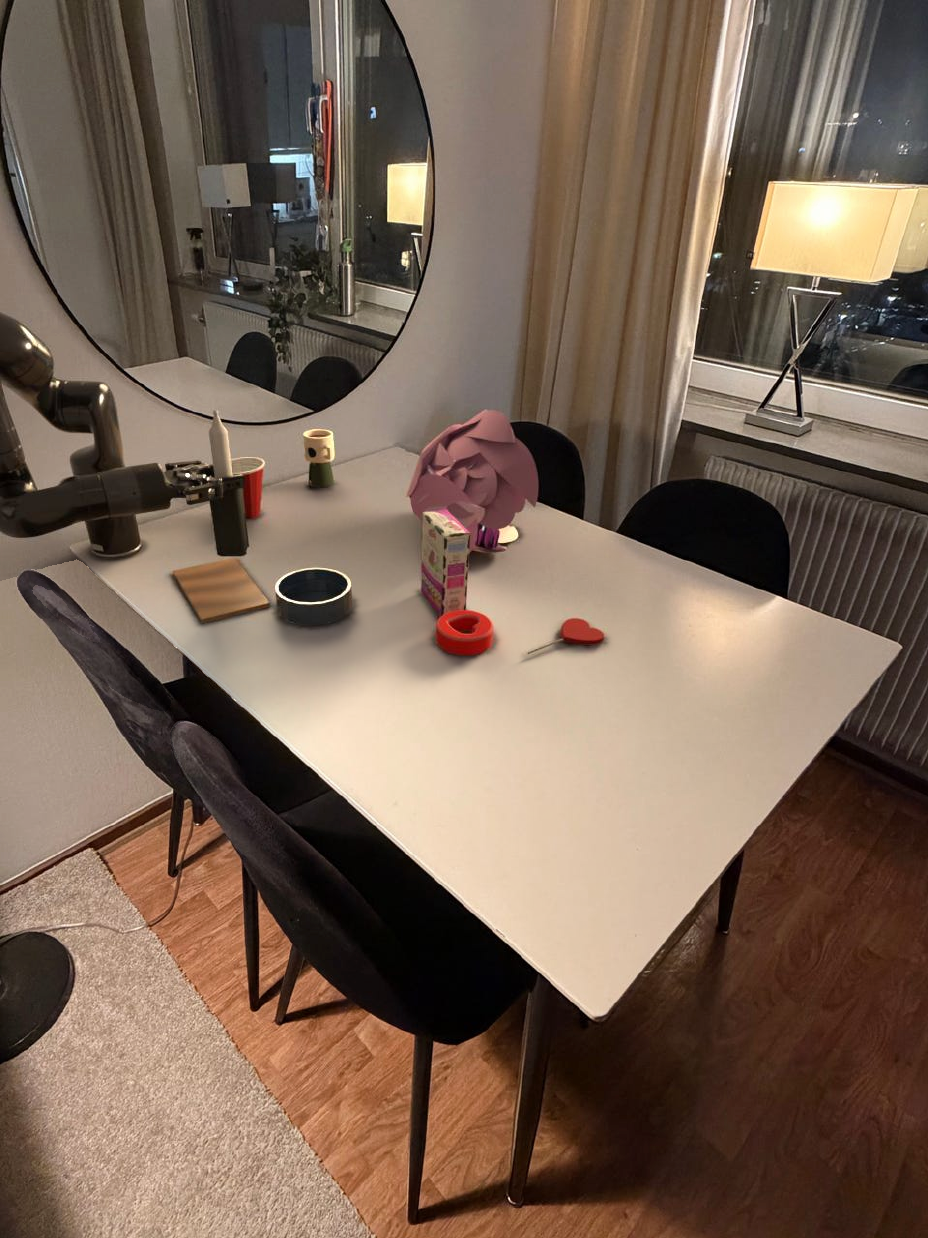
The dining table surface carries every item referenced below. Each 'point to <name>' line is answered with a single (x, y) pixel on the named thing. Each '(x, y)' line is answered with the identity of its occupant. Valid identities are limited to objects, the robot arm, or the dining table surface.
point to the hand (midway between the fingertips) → (237, 474)
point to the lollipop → (577, 633)
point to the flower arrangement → (477, 479)
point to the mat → (220, 590)
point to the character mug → (319, 456)
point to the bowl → (313, 596)
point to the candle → (226, 499)
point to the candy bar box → (444, 561)
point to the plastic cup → (250, 483)
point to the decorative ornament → (464, 643)
